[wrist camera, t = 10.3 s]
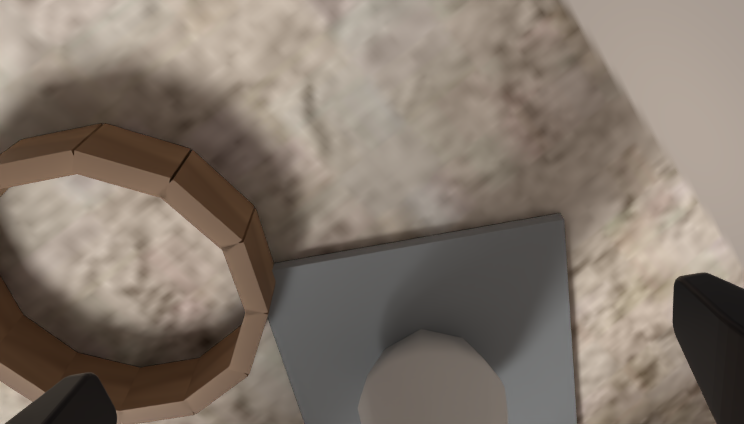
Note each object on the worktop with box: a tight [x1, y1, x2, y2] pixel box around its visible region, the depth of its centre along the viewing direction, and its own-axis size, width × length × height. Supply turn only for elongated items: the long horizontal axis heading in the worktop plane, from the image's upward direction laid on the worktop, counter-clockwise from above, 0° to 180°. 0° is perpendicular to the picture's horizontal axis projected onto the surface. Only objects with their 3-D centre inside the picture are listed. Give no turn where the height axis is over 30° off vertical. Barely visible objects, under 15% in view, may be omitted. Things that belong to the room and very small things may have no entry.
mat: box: [267, 213, 577, 424], centre depth 26 cm, size 12×12×1 cm
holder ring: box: [0, 123, 276, 424], centre depth 23 cm, size 12×12×2 cm
